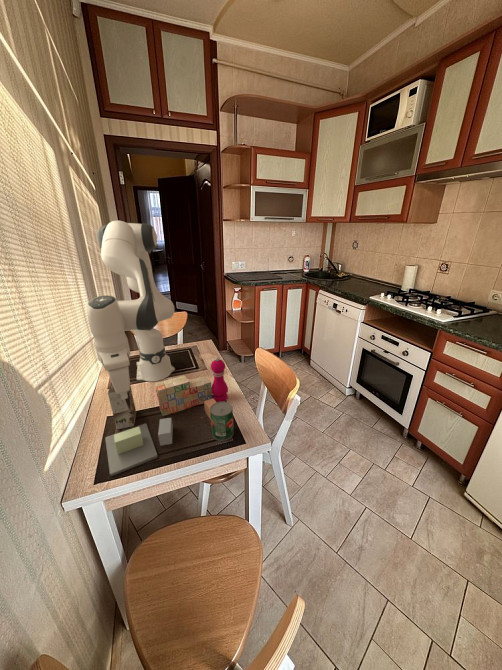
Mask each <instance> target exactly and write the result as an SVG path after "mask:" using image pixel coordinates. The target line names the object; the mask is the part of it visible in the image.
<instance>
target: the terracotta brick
mask: <svg viewBox="0 0 502 670" xmlns="http://www.w3.org/2000/svg"><path fill="white" fill-rule="evenodd" d="M214 403H217V402H216V401H215V400H214V399H213V398H212V399H210V400H207V401H204V403H203V405H204V413H205V414H206V415H207V417H208V418H209V419H210V420H211V415H210V407H211V406H212V405H213V404H214Z"/></svg>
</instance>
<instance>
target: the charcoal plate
mask: <svg viewBox="0 0 502 670" xmlns="http://www.w3.org/2000/svg"><path fill="white" fill-rule="evenodd" d="M136 427H139V428H140V431H141V435H142V440H143V444H144V445H142V446H139V447H137V448H134V449H131V450H129V451H126V452H123V453H120V454H118V452H117V449H116V445H115V440H114V435H115V434H118V433H121V432H124V431H127V430H130V429H133V428H136ZM104 439H105V447H106V448H105V449H106V452H107V453H106V455H107V462H108V463H107V464H108V470H109V476H110V477H114V476H116V475H118V474H121V473H123V472H125V471H128V470H130V469H133V468H135V467H137V466H140V465H143V464H145V463H147V462H150V461H152V460H156V459H157V458H158V456H159V455H158V453H157V450H156V447H155V443H154V441H153V438H152V435H151V432H150V430H149V427H148V425H147V423H143V424H139V425H137V426H133V427H130V428H128V429H125V430H122V431H120V432H117V433H113V434H111V435H109V436H106V437H104Z"/></svg>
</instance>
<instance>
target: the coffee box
mask: <svg viewBox="0 0 502 670" xmlns="http://www.w3.org/2000/svg"><path fill="white" fill-rule="evenodd" d="M127 395H128V398H127V399H122V398H121V395H120V394H117V393H116V391H115V389H114V387H113V384H112V382H110V386H109V387H108V392H107V396H108V400H109V404H110V408H111V411H112V415H113V416H112V417H113V420H114V424H115V427H116V430H121V429H127V428H134V427H135V422H136V417H137V416H136V415H137V410H136V404H135V400H134V396H133V391H132V386H131V385H130V390H129V391H128V392H127Z"/></svg>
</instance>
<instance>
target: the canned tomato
mask: <svg viewBox="0 0 502 670" xmlns="http://www.w3.org/2000/svg"><path fill="white" fill-rule="evenodd" d="M233 407H234V406H233V404H231V403H230V402H227V401H224V402H223V401H222V402H217V403H214V404H213V405H212V406H211V407H210V415H211V419H210V425H211V435H212V437H213V439H214V440H215V441H220V442H223V441H224V442H225V441H228V440H230V439H231V438H232V437H233V436H234V433H235V431H234V428H235V427H234V409H233Z"/></svg>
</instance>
